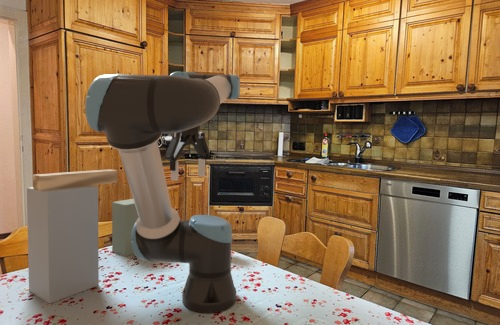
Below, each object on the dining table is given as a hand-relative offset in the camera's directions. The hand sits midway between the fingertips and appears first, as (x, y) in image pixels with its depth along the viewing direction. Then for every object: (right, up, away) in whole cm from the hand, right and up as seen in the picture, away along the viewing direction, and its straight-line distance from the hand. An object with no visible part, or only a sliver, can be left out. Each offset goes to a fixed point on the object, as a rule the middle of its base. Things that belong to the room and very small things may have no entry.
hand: (188, 178), depth 117 cm
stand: (-33, -31, -20) cm, 50 cm away
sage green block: (-24, -29, +14) cm, 40 cm away
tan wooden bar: (-29, -1, -19) cm, 35 cm away
